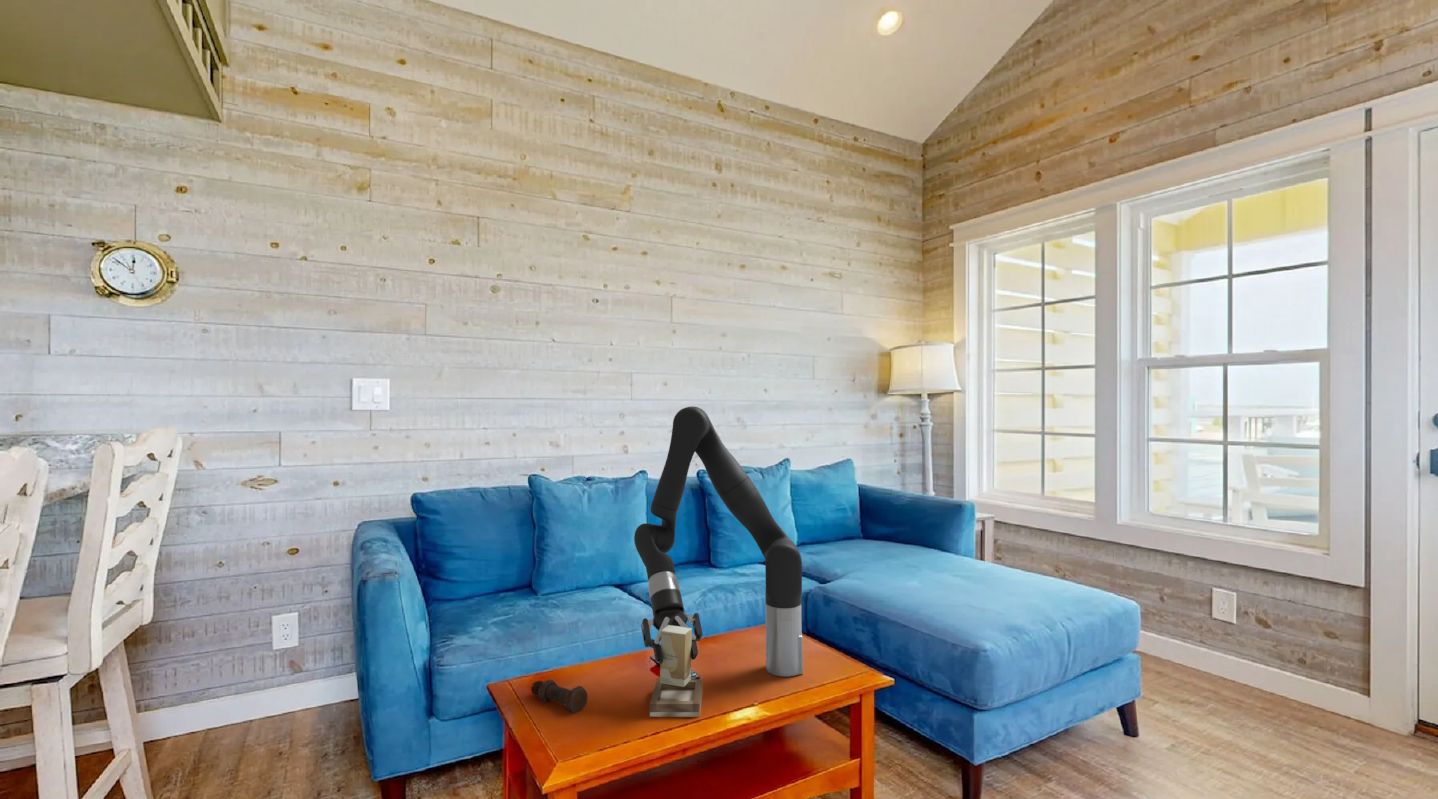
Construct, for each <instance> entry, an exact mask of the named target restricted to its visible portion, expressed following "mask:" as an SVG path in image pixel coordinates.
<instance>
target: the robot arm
mask: <svg viewBox="0 0 1438 799" xmlns="http://www.w3.org/2000/svg"><path fill="white" fill-rule="evenodd" d="M695 454H696V455H697V456H698V457H699V459H700V461H701V463H702V464H703V466H704V469H705V471H706V473H707V475H708V477H709V480H710V481H711V484H712V486H713V487H714V490H715V491H716V493H717V495H718V496H719V498H720V499H721V501H722V502H723V504H724V505H725V507H726V508H727V509H728V511H730V513H731V514H732V515H733V517H734V518H735V519H736V520H737V521H738V522H739V523H740V524H741V525H742V526H743V527H744V528H745V529H746V530H747V531H748V533H749V534H750V535H751V537H752V538H753V540H754V541H755V542H756V545H757V546H758V548H759V550H760V552H761V554H762V556H763V558H764V563H765V591H764V592H765V594H764V595H765V596H764V598H765V670H766V672H767V673H768V674H770V675H773V676H775V677H781V678H782V677H783V678H784V677H795V676H798V675H803V674H804V653H803V652H804V646H803V644H804V642H803V640H804V639H803V633H802V631H803V630H802V594H803V562H802V560H803V559H802V555H801V553H800V550H799V548H798V546H797V545H796V544H795V543H794V542H793V540H792V539H791V538H790V537H789V536H788V535H787V534H786V532H785V531H784V530H783V529H782V527H781V526H780V525H779V524H778V523H777V520H775V518H774V517H773V516H772V514H771V512H770V510H769V507H768V505H767V504H766V502H765V500H764V498H763V496H762V494H761V493H760V491H759V490H758V488H757V487H756V485H755V484H754V482H753V481H752V479H751V478H750V477H749V474H747V472H746V471H745V470H744V468H743V467H742V465H740V463H739V462H738V460H737V459H736V458H735V457H734V455H733V454H732V453H731V452H730V451H729V450H728V448H727V447H726V445H725V444H724V443H723V442H722V440H721V438H720V436H719V435H718V432H717V431H716V429H715V427H714V425H713V423H712V422H711V419H710V417H709V416H708V414H707V412H706V411H705V410H704V409H703V408H700V407H698V406H687V407H684V408H681V409H680V410H679V411H677V412H676V414H675V415H674V418H673V420H672V429H671V436H670V444H669V448H668V453H667V456H666V461H665V463H664V466H663V469H662V472H661V475H660V478H659V480H658V483H657V486H656V489H655V492H654V496H653V498H652V501H651V505H650V508H649V509H650V513H651V514H652V516H654V517H657V518H659V519H661V524H660V525H658V524H653V523H646V522H645V523H641V524H639V525H638V526H637V527H636V529H635V531H634V534H633V535H634V538H633V539H634V545H635V548H636V551H637V554H638V555H639V556H640V557H639V558H640V559H641V561H642V563H643V565H644V566H645V569H646V575H647V582H648V593H649V595H648V596H649V599H650V600H649V601H650V603H651V604H650V605H651V610H652V616H653V619H648V618H644V617H643V619H642V621H641V625H640V627H641V632H642V633H641V634H642V638H643V644H644V647H645V648H652V649H653V654H654V660H655V661H656V662H657V663H658V664H659V665H660V664H662V662H663V655H662V650H661V631H662V630H663V629H664V628H665V627H666V626H668V625H672V626H681V627H686V628H690V627H689V626H688V624H687V622H689V623H690V625H691V626H692V627H693V628H692V629H693V632H692V647H691V661H692V660H696V658H697V657H698V655H699V648H698V644H697V642H700V641H701V640H702V637H703V630H702V626H701V625H702V624H701V619H700V615H699V613H698V612H695V613H694V614H691V615H690V614H689V615H687V613H686V611H685V608H684V603H683V602H684V601H683V598H682V593H681V588H680V583H679V581H678V578H677V577H678V576H677V575H676V574H677V573H676V569H675V565H674V560H673V558H672V557H671V555H670V554H668V553H669V551H671V550H672V548H673V547H674V545H675V541H676V525H677V524H676V523H677V515H678V514H677V513H678V510H679V507H680V504H681V501H682V499H683V495H684V491H685V488H686V482H687V478H688V474H689V471H690V469H689V468H690V466H691V462H692V460H693V456H694V455H695ZM652 626H653V627H654V628H655V629H656V630H657V631H658V632H657V634H656V637H655V638H652V636H651V628H652Z"/></svg>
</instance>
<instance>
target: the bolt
mask: <svg viewBox="0 0 1438 799" xmlns="http://www.w3.org/2000/svg"><path fill="white" fill-rule="evenodd" d="M530 691H531V694H532V695H535V696H538V698H539V699H540V700H541V702H543V703H549V702H551V701H554V702H556V703H560V704H563V705H565V707H566V709H567V710H568V712H569V713H570V712H571V714H577V713H580V712H582V711H583V710H584V709H585V708H586V706H587V703H588V697H589V696H588V692H587V690H586V689H585V688H584V686H582V685H578V686H576V687H573V688H571V689H569V688H565V687H562V686H560V685H558V684H557V683H556V681H555V680H554V679H547V680H545V681H542V680H538V681H535V682H533V683H532V686H531V687H530Z"/></svg>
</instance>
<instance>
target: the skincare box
mask: <svg viewBox="0 0 1438 799" xmlns="http://www.w3.org/2000/svg"><path fill="white" fill-rule="evenodd" d="M692 633H693V628H692V627H689V628H686V627H681V626H672V625H668V626H666V627H665V628H664V629H663V630H662V631H661V641H660V644H661V650H662V655H663V662H662V664H659V666H660V667H659V669H660V670H659V672H660V673H659V679H660V683H664V684H670V685H675V686H681V687H684V686H685V685H686V684H687V683H688V682H689V681H690V680H691V677H692V659H691V647H692Z"/></svg>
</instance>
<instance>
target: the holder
mask: <svg viewBox="0 0 1438 799" xmlns="http://www.w3.org/2000/svg"><path fill="white" fill-rule="evenodd" d="M650 698H651V699H650V702H649V717H650V718H651V717H654V718H655V717H658V718H659V717H660V718H664V717H667V718H668V717H669V718H671V717H672V718H673V717H675V718H676V717H677V718H678V717H679V718H682V717H683V718H687V717H688V718H690V717H691V718H692V717H693V718H699V717H700V715H701V708H702V707H701V706H702V698H703V679H699V678H698V679H697V678H696V679H693V678H692V679H691V680H690V681H689V682H688V683H687V684H686V685H685V686H684V687H681V686H675V685H670V684H664V683H660V678H659V679H656V680H655V684H654V687H653V691H652V695H651V697H650Z"/></svg>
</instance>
